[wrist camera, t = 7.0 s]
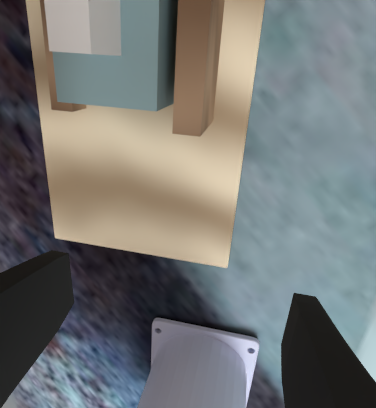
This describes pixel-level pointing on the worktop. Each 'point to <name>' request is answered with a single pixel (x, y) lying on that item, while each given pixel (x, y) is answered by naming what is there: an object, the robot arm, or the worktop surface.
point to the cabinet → (114, 52)
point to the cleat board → (156, 143)
